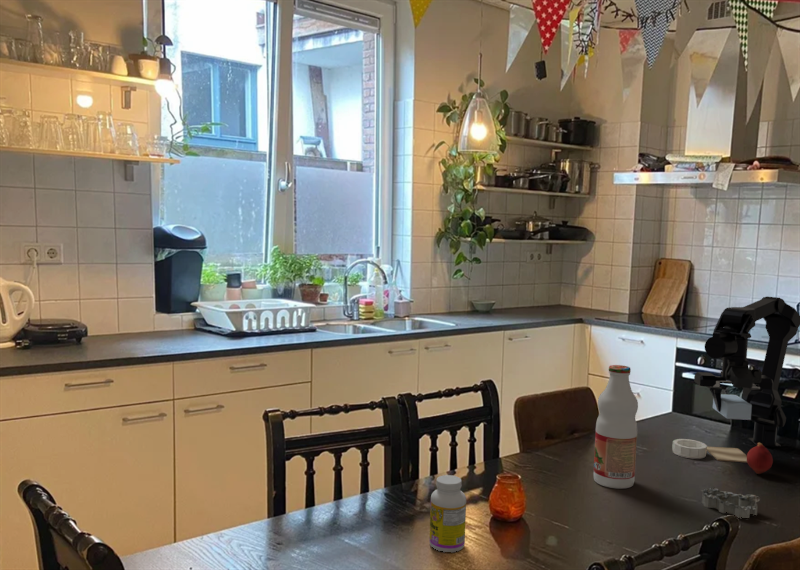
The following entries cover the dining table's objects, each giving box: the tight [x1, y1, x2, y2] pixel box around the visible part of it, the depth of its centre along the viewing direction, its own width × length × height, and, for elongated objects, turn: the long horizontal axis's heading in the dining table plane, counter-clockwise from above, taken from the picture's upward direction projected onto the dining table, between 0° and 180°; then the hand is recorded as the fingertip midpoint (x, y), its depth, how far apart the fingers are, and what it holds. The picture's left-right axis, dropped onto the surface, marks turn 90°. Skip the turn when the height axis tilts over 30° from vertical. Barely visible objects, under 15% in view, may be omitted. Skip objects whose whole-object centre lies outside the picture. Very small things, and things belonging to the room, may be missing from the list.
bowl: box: [671, 438, 708, 460], centre depth 187 cm, size 8×8×3 cm
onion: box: [746, 443, 774, 475], centre depth 172 cm, size 6×6×8 cm
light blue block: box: [712, 393, 752, 421], centre depth 186 cm, size 11×6×4 cm, turn 173°
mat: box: [707, 445, 747, 463], centre depth 187 cm, size 11×9×1 cm
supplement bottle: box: [428, 474, 467, 553], centre depth 128 cm, size 7×7×13 cm
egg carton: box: [700, 487, 761, 519], centre depth 150 cm, size 11×8×4 cm
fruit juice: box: [593, 364, 639, 490], centre depth 163 cm, size 9×9×28 cm
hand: (731, 411), depth 186 cm, fingers closed on light blue block, 6 cm apart
